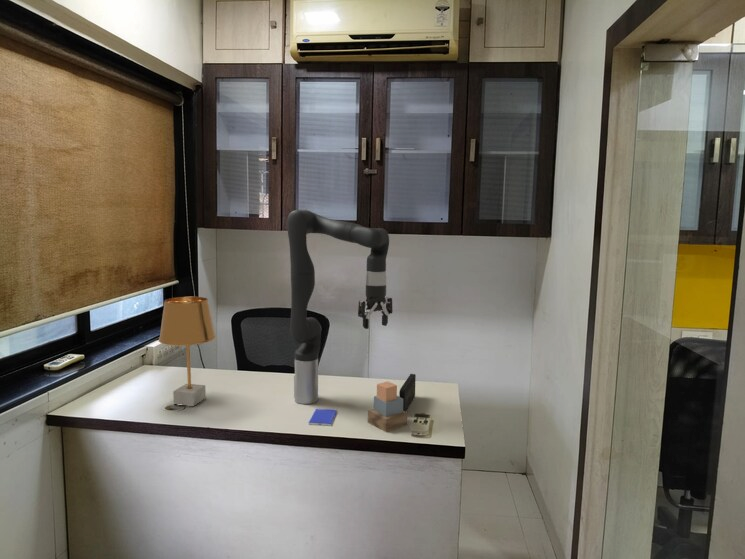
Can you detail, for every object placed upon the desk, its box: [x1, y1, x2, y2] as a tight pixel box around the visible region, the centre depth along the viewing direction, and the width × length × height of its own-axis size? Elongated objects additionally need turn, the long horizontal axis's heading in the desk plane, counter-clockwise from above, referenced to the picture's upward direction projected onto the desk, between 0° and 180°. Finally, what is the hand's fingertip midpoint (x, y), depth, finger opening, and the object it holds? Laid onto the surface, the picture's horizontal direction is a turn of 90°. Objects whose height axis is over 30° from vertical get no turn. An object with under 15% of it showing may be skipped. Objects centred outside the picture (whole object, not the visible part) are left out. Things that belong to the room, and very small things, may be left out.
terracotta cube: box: [376, 381, 398, 402], centre depth 182 cm, size 5×5×5 cm
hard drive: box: [308, 408, 338, 427], centre depth 188 cm, size 2×8×12 cm
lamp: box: [158, 296, 217, 407], centre depth 200 cm, size 21×21×41 cm
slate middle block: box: [373, 395, 403, 417], centre depth 184 cm, size 8×8×5 cm
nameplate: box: [398, 373, 416, 412], centre depth 201 cm, size 21×2×10 cm, turn 164°
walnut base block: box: [367, 408, 408, 433], centre depth 184 cm, size 10×10×5 cm
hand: (375, 326), depth 190 cm, fingers open, 8 cm apart
